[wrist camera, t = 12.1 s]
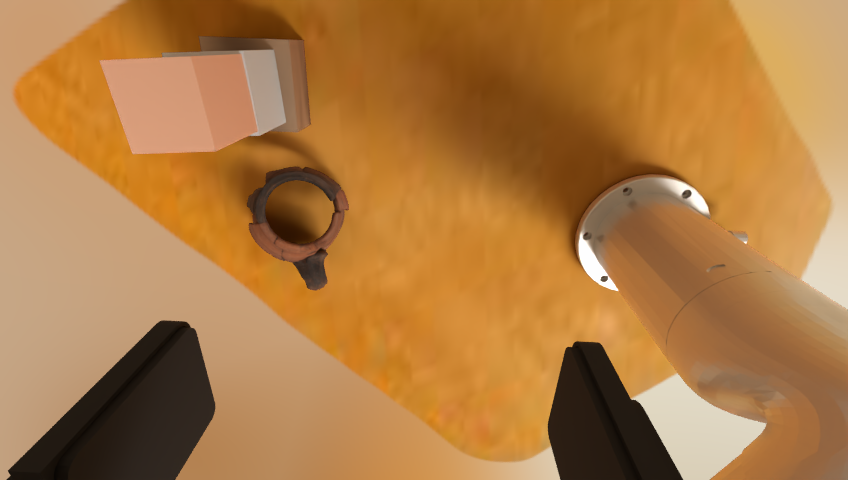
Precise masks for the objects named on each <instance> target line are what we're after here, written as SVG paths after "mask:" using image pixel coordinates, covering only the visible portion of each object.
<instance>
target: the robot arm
mask: <svg viewBox="0 0 848 480" xmlns="http://www.w3.org/2000/svg"><path fill="white" fill-rule="evenodd" d="M625 188H626V189H625ZM624 189H625V190H624ZM623 190H624V191H623ZM584 233H586V234H584ZM747 240H748V236H747V234H746V233H745V232H743V231H726V230H725V229H723V228H722V227H720V226H719V225H717V224H716V223H714V222H713V221H711V216H710V212H709V208H708V205H707V204H706V202H705V200H704V198H703V196H702V195H701V194H700V193H699V192H698V191H697V190H696V189H695V188H693V187H692V186H690V185H689V184H687V183H685V182H683V181H681V180H679V179H677V178H675V177H671V176H667V175H657V174H648V175H641V176H636V177H632V178H629V179H626V180H623V181H621V182H619V183H617V184H615V185H613V186H611V187H610V188H608V189H607V190H606V191H604V192H603V193H601V194H600V195H599V196H598V197H597V198H596V199H595V200H594V201H593V202H592V203H591V204H590V206H589V207H588V208H587V210H586V211H585V212H584V214H583V216H582V218H581V220H580V222H579V225H578V228H577V232H576V240H575V247H576V253H577V257H578V259H579V262H580V264H581V265H582V267H583V269H584V270H585V272H586V273H587V274H588V275H589V276H590V277H591V278H592V279H593V280H594V281H595V282H597V283H598V284H600V285H602V286H604V287H606V288H609V289H612V290H616V291H619V292H620V294H621V295H622V296H623V298H624V299H625V301H626V302H627V303H628V305H629V306H630V308H631V309H632V310H633V312H634V313H635V315H636V316H637V317H638V319H639V320H640V321H641V323H642V324H643V326H644V327H645V328H646V330H647V331H648V333H649V334H650V335H651V337H652V338H653V340H654V341H655V342H656V344H657V345H658V347H659V348H660V349H661V351H662V352H663V354H664V355H665V356H666V358H667V359H668V361H669V362H670V363H671V365H672V366H673V367H674V368H675V370H676V371H677V373H678V374H679V375H680V377H681V378H682V379H683V381H684V382H685V383H686V384H687V385H688V386H689V387H690V388H691V389H692V390H693V391H694V392H695V393H696V394H697V395H698V396H700V397H701V398H703V399H704V400H706V401H707V402H709V403H710V404H712V405H713V406H716V407H718V408H720V409H722V410H725V411H727V412H729V413H732V414H734V415H738V416H741V417H744V418H747V419H751V420H755V421H759V422H763V423H767V424H766V427H765V429H764V430H763V432H762V433H761V434H760V435H759V436H758V437H757V438H756V439H755V440H754V441H753V442H752V443H751V444H750V445H749V446H747V447H746V448H745V449H744V450H743V452H742V454H741V455H739V456H738V457H737V458H735V460H733V461H732V462H731V463H729V464H728V465H727V466H726V467H724V468H723V469H722V470H721V471H720V472H718V473H717V474H716V475H715V476H713V477H712V478H711V479H710V480H848V310H847V309H846V308H844V307H842V306H841V305H839V304H838V303H836V302H834V301H833V300H831V299H830V298H828V297H827V296H825V295H823V294H822V293H821V292H819V291H817V290H816V289H814V288H812V287H811V286H810V285H808V284H807V283H805V282H804V281H802V280H800V279H799V278H797V277H796V276H794V275H793V274H791V273H790V272H788V271H787V270H785V269H784V268H782V267H781V266H779V265H778V264H776V263H775V262H773V261H772V260H770V259H768V258H767V257H765V256H764V255H762V254H761V253H759V252H758V251H756V250H755V249H753V248H752V247H750V246H749V245H747V244H746V243H747ZM214 412H215V402H214V398H213V394H212V390H211V386H210V382H209V379H208V375H207V371H206V367H205V363H204V360H203V356H202V352H201V348H200V344H199V341H198V337H197V333H196V331H195V329H194V328H191V327H190V325H189V324H188V323H187V322H182V321H160V322H159V323H157V324H156V325H155V326H154V327H153V328H152V329H151V330H150V331H149V332H148V333H147V334H146V335H145V336H144V337H143V338H142V339H141V340H140V341H139V342H138V343H137V344H136V345H135V346H134V347H133V348H132V349H131V350H130V351H129V352H128V353H127V354H126V355H125V356H124V357H122V359H120V361H119V362H117V363H116V364H115V365H114V367H112V369H110V370H109V371H108V372H107V373H106V374H105V375H104V376H103V378H101V379H100V380H99V381H98V382H97V383H96V384H95V385H94V386H93V387H92V388H91V389H90V390H89V391H88V392H87V393H86V394H85V395H84V396H83V397H82V398H81V399H80V400H79V401H78V402H77V403H76V404H75V405H74V406H73V407H72V408H71V409H70V410H69V411H68V412H67V413H66V414H65V415H64V416H63V417H62V418H61V419H60V420H59V421H58V422H57V423H56V424H55V425H54V426H53V427H52V428H51V429H50V430H49V431H48V432H47V433H46V434H45V435H44V436H43V437H42V438H41V439H40V440H39V441H38V442H37V443H36V444H35V445H34V446H33V447H32V448H31V449H30V450H28V451H27V453H25V455H23V457H21V458H20V459H19V461H17V462H16V464H14V465H13V466H12V467H11V468H10V469H9V470H8V472H9V474H10V475H11V476H10V477H9V478H8V479H7V480H175V479H176V477H177V476H178V474H179V473H180V471H181V469H182V468H183V466H184V464H185V463H186V461H187V459H188V458H189V456H190V454H191V453H192V451H193V449H194V448H195V446H196V445H197V443H198V441H199V440H200V438H201V436H202V435H203V433H204V431H205V430H206V428H207V426H208V425H209V423H210V421H211V420H212V418H213V415H214ZM548 435H549V439H550V443H551V447H552V450H553V454H554V457H555V461H556V465H557V468H558V472H559V476H560V479H561V480H683V479H682V477H681V475H680V473H679V471H678V470H677V468H676V466H675V464H674V462H673V461H672V459H671V457H670V455H669V454H668V452H667V450H666V448H665V446H664V445H663V443H662V441H661V439H660V437H659V435H658V434H657V432H656V430H655V428H654V426H653V425H652V423H651V421H650V419H649V417H648V415H647V414H646V412H645V410H644V409H643V407H642V406H641V404H640V403H639V402H637V401H636V400H631V399H630V397H629V395H628V393H627V391H626V389H625V388H624V386H623V384H622V382H621V380H620V378H619V376H618V374H617V373H616V371H615V369H614V367H613V365H612V363H611V361H610V359H609V358H608V356H607V354H606V352H605V350H604V348H603V346H602V345H601V344H600V343H596V342H575V343H574V344H573V347H567V348H566V350H565V354H564V358H563V362H562V366H561V371H560V375H559V379H558V383H557V387H556V392H555V396H554V400H553V404H552V408H551V413H550V417H549V421H548Z"/></svg>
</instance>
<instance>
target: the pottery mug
mask: <svg viewBox="0 0 848 480" xmlns="http://www.w3.org/2000/svg"><path fill="white" fill-rule="evenodd" d="M293 180H301V181H307V182H309V183H312V184H314V185H316V186H318V187H319V188H320V189H321V190H323V191H324V193H325V194H326V195H327V197H328V198H329V200H330V201H333V204H334V207H335V213H333V215H332V221H331V224H330V226H329V228H328V230H327V231H326V232H325V233H324V235H322V236H321V237H320V238H319V239H317V240H315V241H313V242H310V243H305V244H296V243H291V242H288V241H286V240H283V239H282V238H280V237H279V236H278V235H277V234H275V233H274V231H273V230H272V229H271V227H270V226H269V224H268V221H267V220H266V215H265V206H266V202H267V199H268V197H269V195H270V194H271V192H272V191H273V189H275V188H276V187H277V186H279V185H280V184H282V183H285V182H288V181H293ZM247 206H248V207H249V208H250V210H251V212H252V213H253V223H254V224H253V223H249V230H250V233H251V235H252V237H253V238H254V240H255V242H256V243H257V244H258V245H259V246H260V247H261V248H262V249H263V250H264V251H266V252H267V253H269V254H271V255H272V256H273V257H275V258H278V259H280V260H283V261H289V262H292V263H293V264H294V265H295V266H296V268H297V269H298V271H299V273H300V275H301V277H302V278H303V279H304V280H305V282H306V285H307V288H308V289H310V290H318V289H321V288H323V287H324V286H325V284H327V277H326V274H325V269H324V259H325V257H326V256H327V255H328V253H327V252H326V249H327V248H328V247H329V246H330V245H331V243H332V242H333V241H334V239H335V238H336V237H337V235H338V233H339V231H340V228H341V226H342V224H343V220H344V210H349V205H348V201H347V198H346V196H345V194H344V191H343V190H341V187H340V186H339V184H337V183H336V182H335V181H334V180H332V179H331V178H329V177H328V176H326V175H325V174H323V173H321V172H319V171H317V170H314V169H311V168H307V167H305V168H304V169H301V168H299V167H289V168H284V169H281V170H276V171H271V172H268V173H266V184H265V186H264V187H263V188H259V189H256V190H255V191H254V193H253V194H252V195H250V196H249V198H248V202H247Z"/></svg>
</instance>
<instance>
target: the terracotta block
mask: <svg viewBox="0 0 848 480" xmlns="http://www.w3.org/2000/svg"><path fill="white" fill-rule="evenodd" d="M100 63H101V66H102V69H103V72H104V75H105V77H106V80H107V83H108V86H109V89H110V92H111V94H112V97H113V100H114V103H115V106H116V109H117V111H118V114H119V117H120V120H121V123H122V125H123V128H124V131H125V134H126V137H127V140H128V142H129V145H130V148H131V151H132V154H150V153H180V152H210V151H218V150H220V149H222V148H224V147H226V146H228V145H230V144H232V143H234V142H237V141H239V140H241V139H243V138H245V137H247V136H249V135H251V134H253V133H256V132H258V129H257V124H256V119H255V115H254V110H253V105H252V101H251V96H250V91H249V87H248V82H247V77H246V73H245V68H244V63H243V59H242V54H229V55H207V56H185V57H163V58H142V59H121V60H100Z"/></svg>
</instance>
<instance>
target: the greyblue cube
mask: <svg viewBox="0 0 848 480" xmlns="http://www.w3.org/2000/svg"><path fill="white" fill-rule="evenodd" d="M229 54H242V59H243V63H244V68H245V73H246V77H247V82H248V87H249V91H250V96H251V101H252V105H253V110H254V115H255V119H256V124H257V129H258V132H256V133H253V134H251V135H249V136H260V135H262V134H264V133H266V132H268V131H270V130H272V129H274V128H276V127H278V126H280V125H282V124H284V123H286V119H285V113H284V107H283V101H282V95H281V89H280V83H279V77H278V71H277V65H276V59H275V53H274V50H241V51H203V52H174V53H162V57H185V56H207V55H229Z"/></svg>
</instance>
